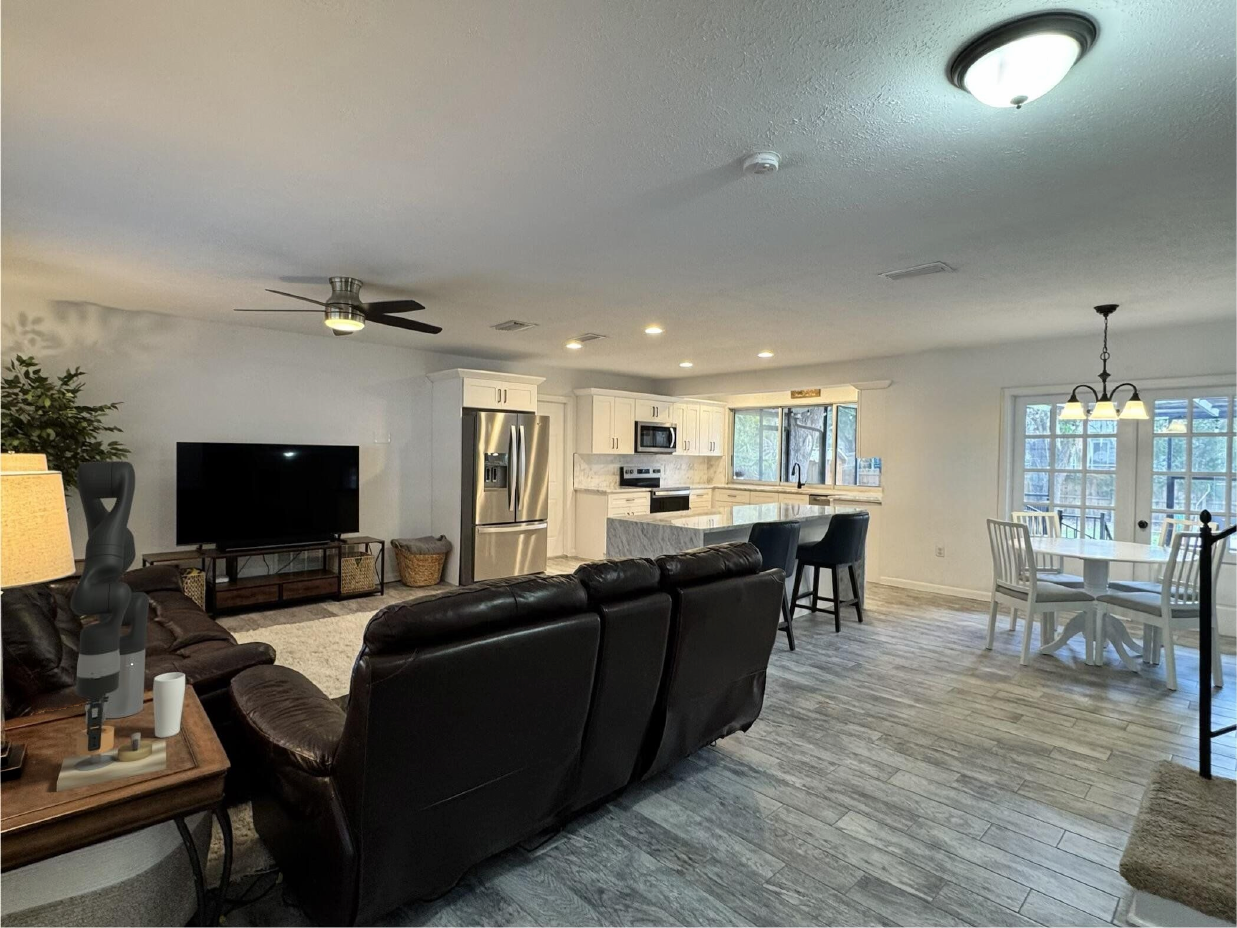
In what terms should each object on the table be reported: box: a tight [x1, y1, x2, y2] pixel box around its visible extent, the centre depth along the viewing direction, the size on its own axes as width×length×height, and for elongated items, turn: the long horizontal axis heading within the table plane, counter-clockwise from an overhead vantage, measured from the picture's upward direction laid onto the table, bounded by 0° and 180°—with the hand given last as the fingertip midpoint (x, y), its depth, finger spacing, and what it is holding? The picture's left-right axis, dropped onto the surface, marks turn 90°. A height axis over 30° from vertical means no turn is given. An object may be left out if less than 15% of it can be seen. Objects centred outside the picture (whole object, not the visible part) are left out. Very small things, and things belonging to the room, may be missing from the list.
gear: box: [75, 725, 115, 756], centre depth 143 cm, size 6×6×4 cm
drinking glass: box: [152, 671, 186, 739], centre depth 163 cm, size 7×7×15 cm
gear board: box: [56, 732, 167, 792], centre depth 145 cm, size 13×19×7 cm
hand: (95, 743), depth 143 cm, fingers closed on gear, 6 cm apart
